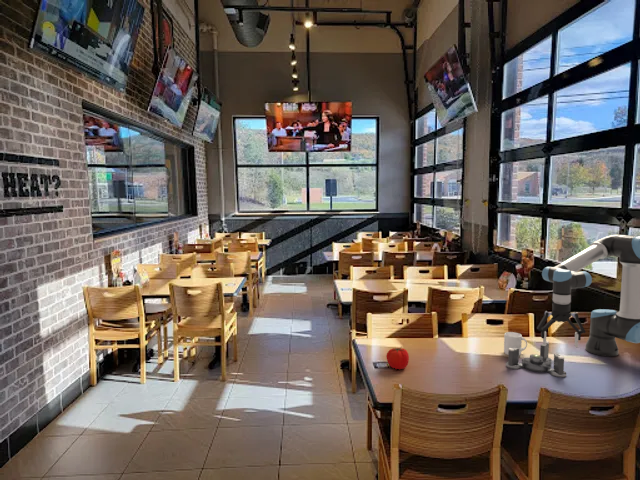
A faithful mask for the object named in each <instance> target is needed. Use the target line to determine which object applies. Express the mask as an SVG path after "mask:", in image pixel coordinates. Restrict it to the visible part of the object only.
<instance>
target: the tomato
mask: <svg viewBox="0 0 640 480" xmlns="http://www.w3.org/2000/svg"><path fill="white" fill-rule="evenodd" d="M385 356H386V361H387V364H388V365H389V367H390V368H392V369H394V368H395V369H394V370H397V369H399V370H404V369H405V368H407V366H408V364H409V362H410V361H409V360H410V355H409V352H408V350H406V349H405V348H402V347H395V348H394V347H393V348H390V349H389V351H387V353H386V355H385Z"/></svg>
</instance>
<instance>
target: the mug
mask: <svg viewBox="0 0 640 480" xmlns="http://www.w3.org/2000/svg"><path fill="white" fill-rule="evenodd" d="M503 335H504V337H503V339H504V341H503V352H504V354H505V355H506V356H508V352H509V350H508V349H509V348H515V347H516V348H519V356H521V355H522V352H523V351H525V350H526V349H527V346H528V342H527V339H526V338H525V337H523V336H522V334H521V333H520V332H516V331H514V332H513V331H507V332H505V333H504V334H503ZM522 341H524V342H525V346H524V347H522Z"/></svg>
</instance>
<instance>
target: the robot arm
mask: <svg viewBox="0 0 640 480" xmlns="http://www.w3.org/2000/svg"><path fill="white" fill-rule="evenodd" d="M607 257H617V258H619V259H618V261H619V263H620V264H621V265H622V266H621V267H622V271H621V285H620V286H621V287H620V301H619V302H620V303H619V310H618V311H617V310H614V309H604V308H603V309H601V308H599V309H594V310H592V311H591V312H590V317H589V318H590V319H589V320H590V326H589V337H588V339H587V341H586V342H585V345H584V348H585V351H587V352H589V353H590V354H593V355H597V356H601V357H616V356H618V355H619V348H618V347H619V346H618V344H617V341H616V339H620V340H623V341H626V342H627V343H628V342H629V343H631V344H632V343H633V344H640V235H629V234H620V233H619V234H610V235H607V236H605V237H602V238H599V239H596V240H595V241H593V242H592V243H591V244H589V246H588V247H587V248H585V249H583V250H581V251H580V252H578V253H577V254H575V255H572V256H571V257H569V258H568V259H566V260H563V262H560V263H559V264H557V265H555V266H546V267H545V266H544V268H543V269H542V272H541V276H542V277H541V278H542V279H543V280H544V281H546V282H549V283H552V302H551V305H552V307H551V308H552V309H551V310H552V311H547V310H545V311H544V313H543V317H542V318H541V320H540V322H539V323H538V325H537V326H536V330H538V332H540V338H541V339H542V344H544V346H546V341H547V330H548V329H549V328H550V327H551V326H553V324H555V323H556V322H558V323H566V322H567V323H568V324H569V325H570V326H571V327H572V328H573V329H574V330H575V332H574V347H575V348H579V341H581V338H582V336H581V335H582V334H585V333H586V330H585V327H584V326H583V324H582V322H581V321H580V318H579V313H578V312H576V311H573V312H571V307H572V306H571V303H572V290H574V289H581V288H586V287H589V286H590V285H591V284H592V282H593V278H592V277H593V276H591V274H590V273H589V272H587V271H584V270H583V271H582V269H585V268H586V267H588V266H590V265H591V264H593V263H595V262H596V261H598V260H604V259H606V258H607ZM550 316H552V317H550ZM549 317H550V319H549V321H547V320H548V318H549ZM571 317H573V318H574V320H575V321H576V323H577V325H578V327H579V328H578V327H577V326H576V325H575V324H574V323H573V322H572V321H571V320H570V318H571Z"/></svg>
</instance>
